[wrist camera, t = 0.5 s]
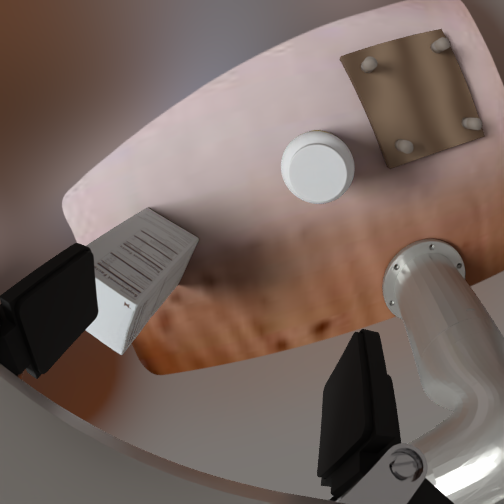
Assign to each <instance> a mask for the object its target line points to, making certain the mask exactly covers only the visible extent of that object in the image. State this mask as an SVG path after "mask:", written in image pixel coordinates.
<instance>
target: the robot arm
mask: <svg viewBox="0 0 504 504" xmlns="http://www.w3.org/2000/svg"><path fill="white" fill-rule="evenodd" d="M431 244H432V245H431ZM430 245H431V246H430ZM396 264H397V265H396ZM394 265H396V266H394ZM382 289H383V296H384V299H385V302H386V305H387V307H388V308H389V309H390V311H391V312H392V313H393V314H394V315H395V316H397V317H398V318H400V319H402V320H403V322H404V325H405V328H406V331H407V335H408V338H409V341H410V345H411V348H412V351H413V355H414V359H415V362H416V366H417V370H418V373H419V377H420V381H421V384H422V387H423V389H424V391H425V393H426V395H427V396H428V397H429V398H430V399H431V400H432V401H433V402H434V403H436V404H437V405H439V406H441V407H443V408H446V409H448V410H451V411H453V413H452V414H451V415H450V416H449V417H448V418H447V419H446V420H444V421H443V422H441V423H440V424H438V425H437V426H436V427H435V428H434V429H432V430H430V431H429V432H427V433H426V434H424V435H422V436H420V437H419V438H417V439H415V440H413V441H412V442H410V443H408V444H406V443H403V444H401V438H400V430H399V422H398V415H397V408H396V402H395V395H394V389H393V383H392V379H391V377H390V376H389V375H387V371H386V365H385V360H384V355H383V350H382V344H381V339H380V335H379V333H378V332H374V331H369V330H365V329H362V330H361V331H360V332H355V333H354V334H353V336H352V338H351V340H350V341H349V343H348V345H347V347H346V349H345V351H344V353H343V355H342V357H341V358H340V360H339V362H338V364H337V365H336V367H335V369H334V371H333V372H332V374H331V376H330V378H329V379H328V381H327V383H326V385H325V387H324V391H323V405H322V422H321V436H320V448H319V459H318V470H317V476H318V477H322V480H321V486H329V487H331V494H332V496H331V497H330V498H329V499H328V500H323V499H317V498H312V497H306V496H300V495H294V494H288V493H283V492H277V491H272V490H268V489H263V488H259V487H254V486H251V485H247V484H242V483H238V482H235V481H231V480H227V479H224V478H220V477H216V476H213V475H210V474H207V473H203V472H200V471H197V470H194V469H191V468H188V467H185V466H183V465H179V464H177V463H175V462H172V461H169V460H167V459H164V458H161V457H159V456H157V455H154V454H152V453H149V452H147V451H145V450H142V449H140V448H138V447H136V446H133V445H131V444H129V443H127V442H124V441H122V440H120V439H118V438H116V437H114V436H112V435H110V434H108V433H106V432H104V431H103V430H101V429H98V428H97V427H95V426H93V425H91V424H89V423H87V422H86V421H84V420H82V419H81V418H79V417H77V416H75V415H74V414H72V413H70V412H69V411H67V410H65V409H64V408H62V407H60V406H59V405H57V404H56V403H54V402H53V401H51V400H49V399H48V398H47V397H45V396H44V395H42V394H40V393H39V392H38V391H36V390H35V389H33V388H32V387H31V386H29V385H28V384H26V383H25V382H24V381H23V371H24V370H25V369H26V370H27V372H28V373H29V374H31V375H32V376H33V377H35V378H36V379H38V378H39V376H40V375H41V374H44V373H46V372H47V371H48V370H49V369H50V368H51V367H52V366H53V364H54V363H55V362H56V361H57V360H58V359H59V358H60V357H61V356H62V354H63V353H64V352H65V351H66V350H67V349H68V348H69V347H70V346H71V345H72V344H73V342H74V341H75V340H76V339H77V338H78V337H79V336H80V335H81V333H83V332H84V331H85V330H86V329H87V328H88V326H89V325H90V324H91V323H92V322H93V321H94V320H95V319H96V318H97V315H98V302H97V292H96V281H95V268H94V255H93V253H92V252H91V249H90V248H89V247H87V246H84V245H81V244H79V243H75V244H73V245H72V246H70V247H69V248H67V249H66V250H64V251H62V252H61V253H59V254H58V255H56V256H55V257H53V258H52V259H50V260H49V261H48V262H46V263H45V264H43V265H42V266H40V267H39V268H37V269H36V270H35V271H33V272H32V273H30V274H29V275H28V276H26V277H25V278H23V279H22V280H21V281H19V282H18V283H17V284H15V285H14V286H13V287H11V288H10V289H9V290H7V291H6V292H5V293H3V294H2V295H1V296H0V300H1V303H2V304H1V305H0V504H504V337H503V335H502V334H501V332H500V331H499V329H498V327H497V326H496V324H495V323H494V321H493V320H492V318H491V317H490V315H489V313H488V312H487V310H486V309H485V308H484V306H483V304H482V303H481V302H480V300H479V299H478V297H477V296H476V294H475V293H474V291H473V290H472V289H471V287H470V286H469V284H468V283H467V282H466V280H465V267H464V263H463V260H462V258H461V256H460V255H459V253H458V252H457V251H456V250H455V249H454V248H453V247H452V246H451V245H450V244H448V243H446V242H444V241H441V240H437V239H424V240H420V241H416V242H414V243H412V244H410V245H408V246H406V247H405V248H403V249H402V250H401V251H400V252H399V253H398V254H396V255H395V256H394V258H393V259H392V261H391V262H390V263H389V265H388V267H387V269H386V271H385V274H384V278H383V285H382Z"/></svg>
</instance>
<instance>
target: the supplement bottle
mask: <svg viewBox="0 0 504 504" xmlns="http://www.w3.org/2000/svg"><path fill="white" fill-rule="evenodd" d="M281 172H282V176H283V179H284V182H285V184H286V186H287V187H288V189H289V190H290V191H291V192H292V193H293V194H294V195H295V196H297V197H298V198H300V199H301V200H303V201H306V202H309V203H314V204H324V203H329V202H331V201H334V200H336V199H338V198H339V197H341V196H342V195H343V194H344V193H345V192H346V191H347V190H348V188H349V187H350V185H351V183H352V180H353V177H354V160H353V157H352V154H351V152H350V150H349V148H348V147H347V146H346V144H345V143H344V142H343V141H342V140H340V139H339V138H338V137H336V136H334V135H332V134H331V133H328V132H325V131H320V130H313V131H309V132H306V133H303V134H301V135H299V136H297V137H296V138H295V139H294V140H292V141H291V142H290V144H289V145H288V146H287V148H286V149H285V151H284V154H283V156H282V161H281Z"/></svg>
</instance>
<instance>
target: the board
mask: <svg viewBox="0 0 504 504" xmlns="http://www.w3.org/2000/svg"><path fill="white" fill-rule="evenodd" d="M340 61H341V62H342V64H343V66H344V68H345V70H346V72H347V74H348V76H349V78H350V80H351V82H352V84H353V86H354V88H355V90H356V92H357V95H358V97H359V99H360V101H361V103H362V105H363V108H364V110H365V112H366V114H367V117H368V119H369V121H370V124H371V126H372V128H373V131H374V133H375V136H376V138H377V141H378V143H379V146H380V148H381V151H382V154H383V156H384V159H385V162H386V165H387V167H388V168H390V169H391V168H394V167H397V166H400V165H402V164H405V163H408V162H411V161H414V160H416V159H419V158H422V157H425V156H428V155H431V154H434V153H436V152H439V151H442V150H445V149H448V148H451V147H454V146H457V145H460V144H463V143H466V142H469V141H472V140H475V139H478V138H481V137H484V133H483V129H482V122H481V120H480V119H479V117H478V114H477V111H476V108H475V105H474V102H473V99H472V96H471V94H470V91H469V88H468V86H467V83H466V81H465V78H464V76H463V74H462V71H461V69H460V67H459V64H458V62H457V60H456V58H455V55H454V53H453V51H452V49H451V47H450V42H449V40H448V39H446V37H445V35H444V33H443V31H442V29H439V30H434V31H429V32H425V33H420V34H416V35H412V36H407V37H403V38H400V39H396V40H392V41H388V42H385V43H381V44H378V45H375V46H371V47H368V48H365V49H362V50H358V51H355V52H352V53H349V54H346V55H344V56H341V57H340Z"/></svg>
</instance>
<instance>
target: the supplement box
mask: <svg viewBox="0 0 504 504" xmlns="http://www.w3.org/2000/svg"><path fill="white" fill-rule="evenodd" d="M198 241H199V238H197V237H196V236H194V235H192V234H191V233H189V232H187V231H186V230H184V229H182V228H181V227H179V226H177V225H176V224H174V223H172V222H171V221H169V220H167V219H166V218H164V217H162V216H161V215H159V214H157V213H156V212H154V211H152V210H151V209H149V208H146V209H144V210H142V211H140V212H139V213H137V214H136V215H134V216H132V217H131V218H129V219H127V220H126V221H124V222H123V223H121V224H119V225H118V226H116V227H114V228H113V229H111V230H110V231H108V232H107V233H105V234H104V235H102V236H100V237H99V238H97V239H96V240H94V241H93V242H91V243H90V244H88V245H87V247H89V248H90V249H91V252H92V253H93V255H94V268H95V281H96V292H97V302H98V315H97V318H96V319H95V320H94V321H93V322H92V323H91V324H90V325H89V326H88V328H87V329H86V331H88V332H89V333H90V334H92V335H93V336H95V337H96V338H97V339H99V340H100V341H101V342H103V343H104V344H106V345H107V346H108V347H110V348H112V349H113V350H114V351H116V352H118V353H119V354H121V355H123V354H124V352H125V351H126V350H127V348H128V347H129V346H130V344H131V343H132V342H133V340H134V339H135V338H136V337H137V335H138V334H139V333H140V331H141V330H142V329H143V327H144V326H145V324H146V323H147V322H148V320H149V319H150V318H151V317H152V316H153V315H154V313H155V312H156V311H157V310H158V309H159V307H160V306H161V305H162V304H163V302H164V301H165V300H166V299H167V297H168V296H169V295H170V294H171V292H172V291H173V290H174V289H175V288H176V286H177V285H178V284H179V282H180V280H181V278H182V276H183V273H184V271H185V269H186V267H187V264H188V262H189V260H190V258H191V256H192V254H193V251H194V249H195V247H196V245H197V243H198Z"/></svg>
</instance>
